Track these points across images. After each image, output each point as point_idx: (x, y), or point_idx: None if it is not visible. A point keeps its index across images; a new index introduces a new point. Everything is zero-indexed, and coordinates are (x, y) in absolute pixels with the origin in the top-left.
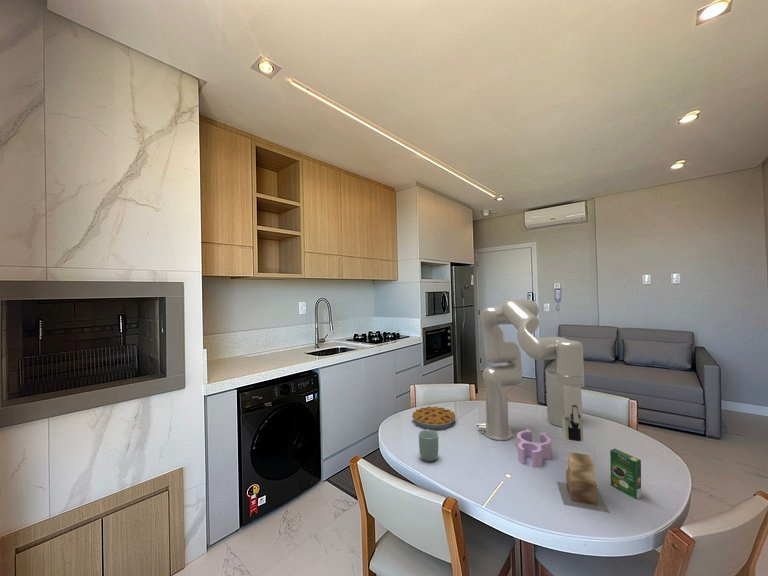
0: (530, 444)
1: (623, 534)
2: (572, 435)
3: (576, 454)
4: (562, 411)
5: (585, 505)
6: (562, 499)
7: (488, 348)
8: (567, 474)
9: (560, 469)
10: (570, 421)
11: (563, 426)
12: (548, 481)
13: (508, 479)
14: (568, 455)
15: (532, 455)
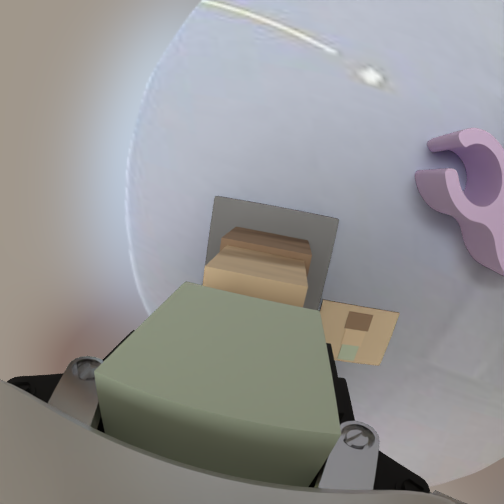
0: (498, 190)
1: (150, 300)
2: (124, 339)
3: None
4: (81, 471)
5: None
6: (238, 201)
7: None
8: (281, 247)
9: (424, 266)
10: (55, 404)
11: (237, 339)
12: (356, 198)
13: (347, 70)
14: (279, 279)
15: (440, 169)
